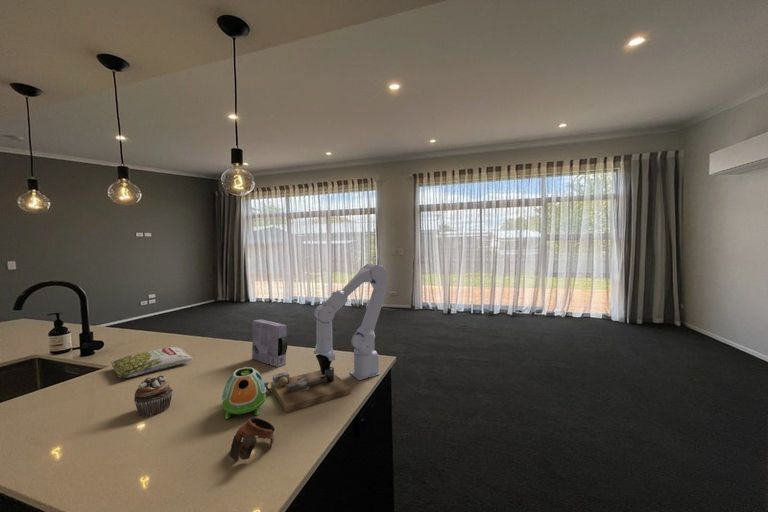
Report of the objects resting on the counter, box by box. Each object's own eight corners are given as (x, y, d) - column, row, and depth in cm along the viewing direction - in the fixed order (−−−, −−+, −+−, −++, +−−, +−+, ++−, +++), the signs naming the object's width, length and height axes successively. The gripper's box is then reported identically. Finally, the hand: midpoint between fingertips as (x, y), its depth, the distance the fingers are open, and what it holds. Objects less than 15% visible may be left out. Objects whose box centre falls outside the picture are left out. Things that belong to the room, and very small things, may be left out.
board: (328, 373, 120) (328, 360, 120) (350, 393, 103) (350, 378, 103) (271, 387, 108) (270, 373, 108) (285, 412, 91) (285, 396, 91)
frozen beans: (110, 355, 126) (179, 340, 145) (110, 369, 126) (179, 352, 145) (118, 370, 112) (194, 352, 131) (118, 385, 113) (194, 365, 132)
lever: (331, 377, 111) (331, 366, 111) (335, 380, 108) (335, 369, 108) (286, 389, 102) (285, 376, 102) (289, 393, 99) (288, 380, 99)
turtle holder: (265, 388, 107) (264, 355, 106) (266, 416, 90) (265, 377, 89) (226, 395, 102) (225, 361, 101) (219, 425, 85) (218, 384, 85)
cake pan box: (288, 364, 130) (288, 323, 129) (279, 368, 126) (278, 326, 125) (261, 356, 140) (260, 318, 140) (251, 359, 136) (250, 320, 135)
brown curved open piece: (231, 444, 78) (248, 412, 80) (265, 457, 79) (281, 425, 81) (217, 464, 66) (237, 425, 69) (257, 479, 67) (275, 440, 70)
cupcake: (130, 421, 88) (129, 388, 87) (139, 406, 96) (138, 375, 96) (170, 413, 92) (169, 381, 92) (175, 399, 101) (174, 369, 100)
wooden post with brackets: (274, 391, 103) (268, 381, 102) (251, 407, 99) (245, 396, 98) (272, 389, 105) (267, 379, 104) (250, 405, 101) (244, 394, 100)
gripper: (307, 334, 115) (308, 369, 115) (321, 344, 103) (321, 384, 103) (324, 331, 119) (325, 365, 119) (340, 341, 107) (340, 379, 107)
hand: (325, 374), depth 111 cm, fingers closed
